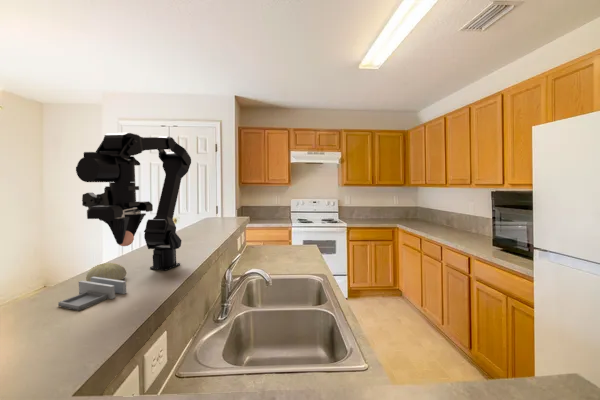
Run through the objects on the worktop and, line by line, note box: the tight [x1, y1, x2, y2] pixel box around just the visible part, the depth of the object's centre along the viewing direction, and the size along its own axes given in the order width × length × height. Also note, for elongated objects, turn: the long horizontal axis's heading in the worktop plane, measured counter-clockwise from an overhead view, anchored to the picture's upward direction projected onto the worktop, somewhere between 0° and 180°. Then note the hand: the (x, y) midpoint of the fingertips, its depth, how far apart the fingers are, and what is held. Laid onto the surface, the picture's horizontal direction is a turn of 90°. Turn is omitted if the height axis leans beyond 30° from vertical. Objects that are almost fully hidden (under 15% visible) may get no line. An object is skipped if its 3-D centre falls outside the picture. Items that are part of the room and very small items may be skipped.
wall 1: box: [78, 280, 116, 300], centre depth 69 cm, size 1×11×3 cm, turn 72°
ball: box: [118, 231, 135, 247], centre depth 74 cm, size 4×4×4 cm
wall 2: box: [91, 277, 127, 295], centre depth 72 cm, size 1×11×3 cm, turn 72°
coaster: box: [58, 291, 108, 312], centre depth 65 cm, size 6×6×1 cm
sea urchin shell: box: [85, 262, 127, 282], centre depth 79 cm, size 9×8×8 cm
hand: (124, 242), depth 74 cm, fingers closed on ball, 4 cm apart
